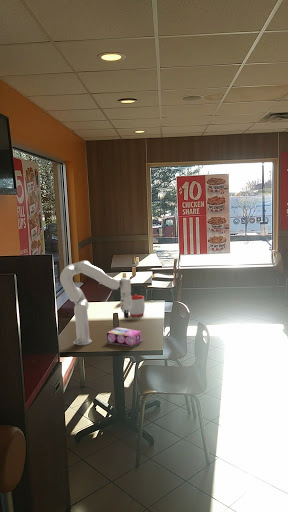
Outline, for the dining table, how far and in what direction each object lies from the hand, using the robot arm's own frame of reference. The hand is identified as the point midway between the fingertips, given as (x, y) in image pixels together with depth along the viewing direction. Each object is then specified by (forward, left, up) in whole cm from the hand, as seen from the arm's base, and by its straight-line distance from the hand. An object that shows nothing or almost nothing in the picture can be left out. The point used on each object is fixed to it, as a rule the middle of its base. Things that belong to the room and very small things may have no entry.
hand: (126, 317), depth 325 cm
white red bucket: (+63, +28, -18) cm, 72 cm away
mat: (-4, -1, -18) cm, 18 cm away
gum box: (+2, -1, -13) cm, 13 cm away
